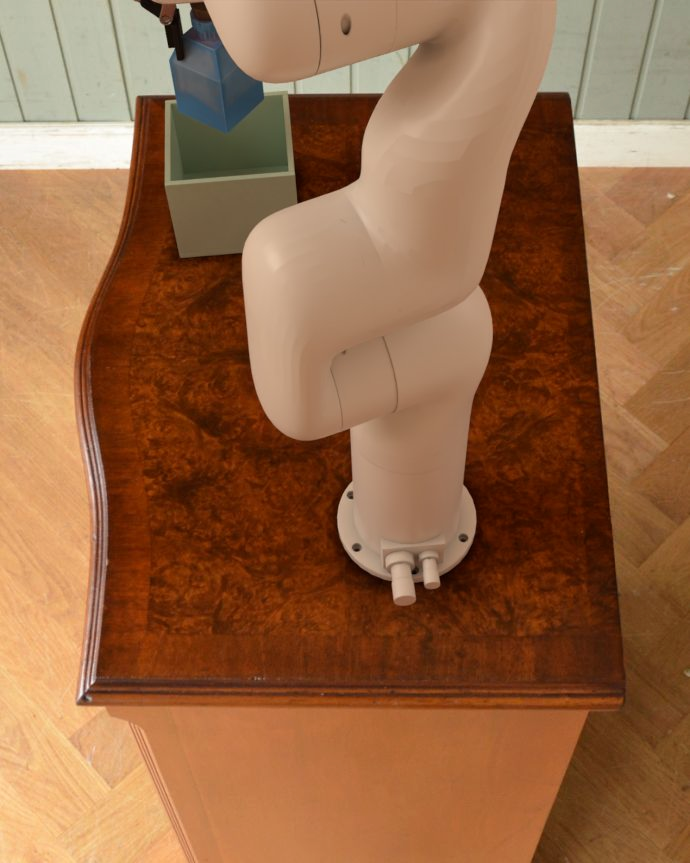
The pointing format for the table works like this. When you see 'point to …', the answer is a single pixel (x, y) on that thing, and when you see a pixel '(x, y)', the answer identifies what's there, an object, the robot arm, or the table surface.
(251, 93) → the perfume bottle
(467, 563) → the table surface
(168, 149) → the waste bin
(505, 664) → the table surface
